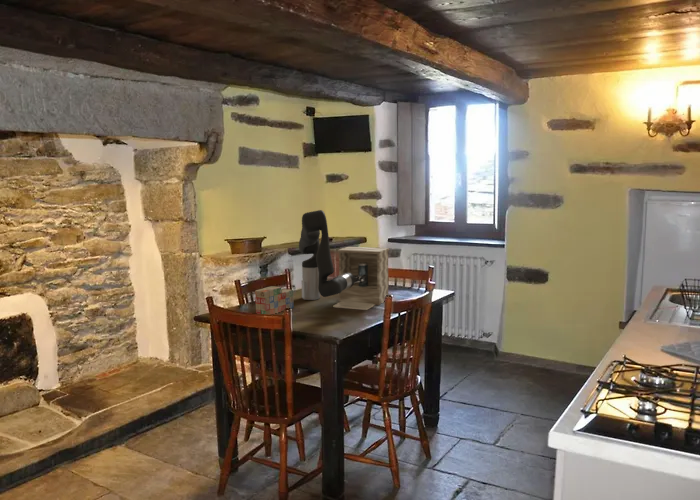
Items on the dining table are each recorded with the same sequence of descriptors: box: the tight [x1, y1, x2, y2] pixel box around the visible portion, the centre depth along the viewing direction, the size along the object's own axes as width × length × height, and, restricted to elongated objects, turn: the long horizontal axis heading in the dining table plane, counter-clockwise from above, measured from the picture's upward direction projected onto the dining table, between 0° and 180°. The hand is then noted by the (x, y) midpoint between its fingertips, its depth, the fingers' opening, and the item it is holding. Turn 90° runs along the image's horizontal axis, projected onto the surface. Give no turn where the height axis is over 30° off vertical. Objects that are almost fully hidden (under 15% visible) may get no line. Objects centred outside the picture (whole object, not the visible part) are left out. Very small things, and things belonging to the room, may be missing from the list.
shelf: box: [337, 246, 390, 306], centre depth 297 cm, size 15×23×27 cm, turn 67°
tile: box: [332, 301, 375, 311], centre depth 286 cm, size 11×18×1 cm, turn 67°
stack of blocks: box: [254, 285, 295, 315], centre depth 276 cm, size 21×6×12 cm, turn 148°
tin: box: [358, 262, 368, 287], centre depth 296 cm, size 5×5×12 cm
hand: (357, 276), depth 288 cm, fingers open, 8 cm apart
